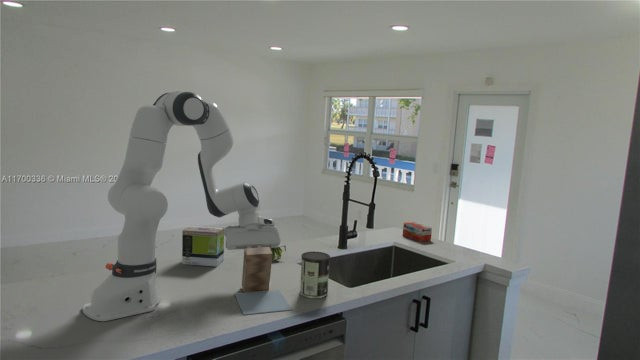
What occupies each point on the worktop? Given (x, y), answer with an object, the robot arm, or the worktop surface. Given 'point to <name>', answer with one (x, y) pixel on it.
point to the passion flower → (277, 251)
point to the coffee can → (314, 274)
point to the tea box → (203, 245)
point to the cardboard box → (256, 269)
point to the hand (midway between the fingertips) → (255, 258)
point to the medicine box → (417, 231)
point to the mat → (262, 302)
